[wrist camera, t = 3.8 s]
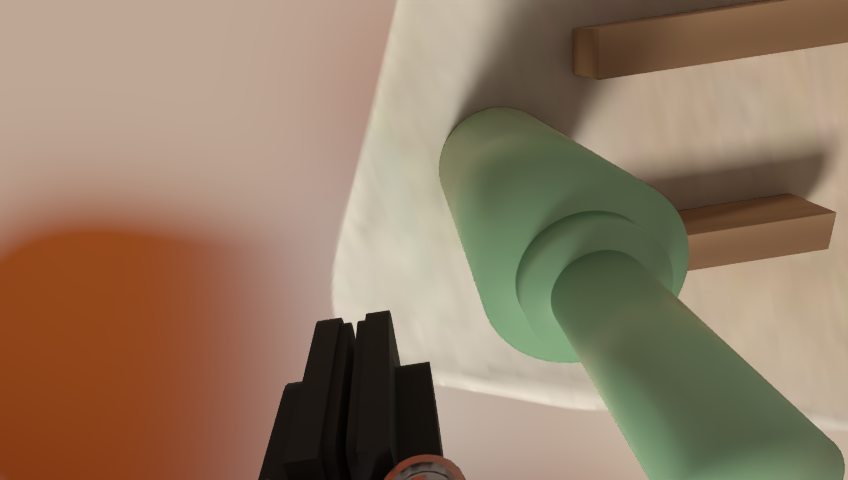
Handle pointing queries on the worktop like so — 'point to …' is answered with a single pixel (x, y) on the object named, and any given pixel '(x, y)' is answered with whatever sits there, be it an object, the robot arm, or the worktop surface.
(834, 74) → the worktop surface
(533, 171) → the bottle
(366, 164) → the worktop surface
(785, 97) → the worktop surface
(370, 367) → the robot arm
